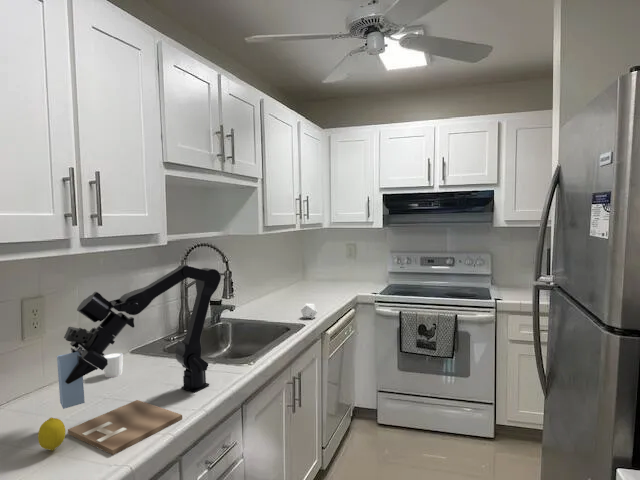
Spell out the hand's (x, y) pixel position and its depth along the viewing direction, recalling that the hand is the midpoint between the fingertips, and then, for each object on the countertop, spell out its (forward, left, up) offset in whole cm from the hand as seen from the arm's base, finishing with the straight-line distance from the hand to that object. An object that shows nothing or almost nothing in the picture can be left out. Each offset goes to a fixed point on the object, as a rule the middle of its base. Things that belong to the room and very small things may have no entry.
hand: (64, 380), depth 111 cm
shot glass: (-29, -25, -13) cm, 40 cm away
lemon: (+8, +10, -13) cm, 18 cm away
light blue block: (-1, 0, -7) cm, 7 cm away
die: (-132, -8, -13) cm, 132 cm away
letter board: (-8, +15, -12) cm, 21 cm away
